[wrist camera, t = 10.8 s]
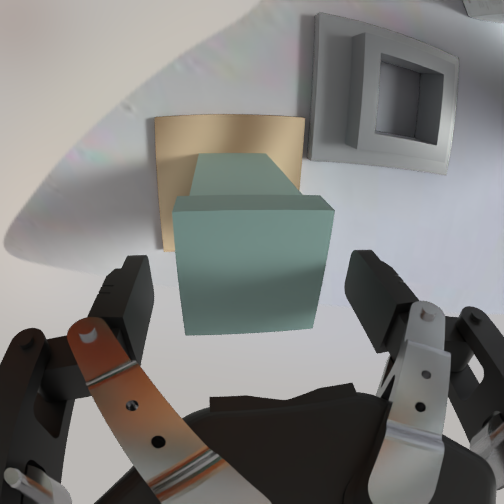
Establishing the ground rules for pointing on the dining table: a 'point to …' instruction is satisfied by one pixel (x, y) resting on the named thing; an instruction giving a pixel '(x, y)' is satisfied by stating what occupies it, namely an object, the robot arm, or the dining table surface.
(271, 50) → the dining table surface
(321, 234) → the plug
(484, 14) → the skincare box
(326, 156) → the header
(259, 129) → the cork pad
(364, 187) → the dining table surface
